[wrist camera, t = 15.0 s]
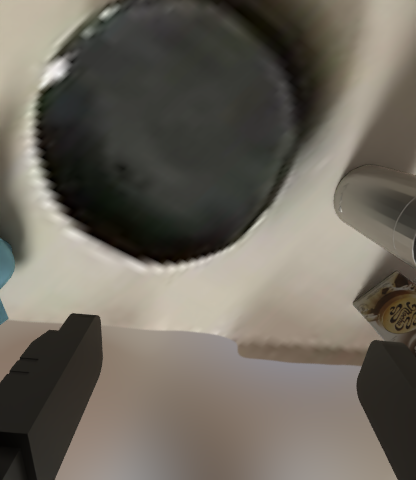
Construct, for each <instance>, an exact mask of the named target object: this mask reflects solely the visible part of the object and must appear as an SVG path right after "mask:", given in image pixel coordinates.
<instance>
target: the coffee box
mask: <svg viewBox="0 0 416 480" xmlns="http://www.w3.org/2000/svg"><path fill="white" fill-rule="evenodd" d="M353 306H354V307H355V308H356V309H357V310H358V311H359V312H360V313H361V315H362V316H363V317H364V318H365V319H366V320H367V321H368V323H369V324H370V325H371V326H372V327H373V328H374V329H375V331H376V332H377V333H378V334H379V335H380V336H381V337H382V339H383V340H384V341H391V342H401V343H404V344H405V345H406V346H407V347H408V348H409V349H410V351H411V352H412V353H413V354H414V356H415V357H416V285H415V284H414V283H412V282H411V281H410V280H408V279H407V278H405V277H404V276H403V275H402V274H400V273H399V272H398V271H396V272H394V273H393V274H392V275H390V276H389V277H388V278H386V279H385V280H384V281H382V282H381V283H380V284H378V285H377V286H376V287H374V288H373V289H372V290H370V291H369V292H367V293H366V294H365V295H363V296H362V297H361V298H359V299H358V300H357V301H355V302H354V303H353Z"/></svg>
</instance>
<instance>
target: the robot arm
mask: <svg viewBox="0 0 416 480" xmlns="http://www.w3.org/2000/svg"><path fill="white" fill-rule="evenodd" d="M334 208H335V211H336V213H337V215H338V217H339V218H340V219H341V220H342V221H343V222H344V223H346V224H347V225H349V226H351V227H352V228H354V229H355V230H356V231H358V232H359V233H361V234H363V235H364V236H366V237H367V238H369V239H370V240H372V241H373V242H375V243H376V244H378V245H379V246H381V247H382V248H384V249H385V250H387V251H389V252H390V253H392V254H393V255H395V256H396V257H398V258H399V259H401V260H402V261H404V262H405V263H407V264H409V265H410V266H412V267H413V268H415V269H416V175H413V174H409V173H405V172H401V171H397V170H393V169H389V168H385V167H381V166H377V165H365V166H361V167H358V168H356V169H354V170H353V171H351V172H350V173H348V174H347V175H346V176H345V177H344V178H343V179H342V181H341V182H340V183H339V185H338V187H337V189H336V192H335V196H334ZM102 360H103V353H102V336H101V320H100V317H99V316H98V315H86V314H75V313H72V314H71V315H70V316H69V317H68V318H67V320H66V321H65V322H64V324H63V325H62V327H61V328H60V330H59V331H56V330H49V331H47V332H46V333H44V334H43V335H41V336H40V337H39V338H37V339H36V340H34V341H33V342H32V343H31V344H30V345H29V347H28V348H27V349H26V350H25V352H24V353H23V354H22V356H21V357H20V360H19V361H17V362H16V363H15V365H14V366H13V367H12V368H11V370H10V373H9V374H7V375H6V376H5V377H4V379H3V380H2V381H1V382H0V480H55V477H56V475H57V473H58V470H59V468H60V466H61V464H62V461H63V459H64V456H65V454H66V452H67V450H68V447H69V445H70V443H71V440H72V438H73V436H74V434H75V431H76V429H77V426H78V424H79V422H80V420H81V417H82V415H83V413H84V410H85V408H86V406H87V404H88V401H89V399H90V396H91V394H92V392H93V390H94V387H95V385H96V383H97V380H98V378H99V375H100V372H101V367H102ZM357 394H358V398H359V401H360V403H361V405H362V407H363V409H364V411H365V413H366V415H367V417H368V419H369V422H370V423H371V426H372V428H373V430H374V432H375V434H376V436H377V438H378V440H379V442H380V444H381V446H382V448H383V450H384V452H385V454H386V456H387V458H388V461H389V463H390V464H391V466H392V469H393V471H394V473H395V475H396V477H397V479H398V480H416V357H415V356H414V354H413V353H412V352H411V351H410V349H409V348H408V347H407V346H406V345H405V344H404V343H401V342H391V341H379V340H374V341H373V342H371V344H370V346H369V348H368V351H367V354H366V357H365V359H364V362H363V365H362V367H361V370H360V373H359V375H358V378H357Z"/></svg>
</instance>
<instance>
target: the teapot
mask: <svg viewBox="0 0 416 480" xmlns="http://www.w3.org/2000/svg"><path fill="white" fill-rule="evenodd" d="M14 268H15V260H14V256H13V254H12V247H11V246H10V244H9V243H8V242H6V241H4V240H2V239H1V238H0V289H1V288H2V287H3V286H4V285H5V284H6V282H7V281H8V280H9V279H10V278H11V276H12V274H13V272H14ZM7 319H8V316H7V314H6V311H5V309H4V307H3V304H2V302H1V299H0V325H1V324H2V323H3V322H5V321H6V320H7Z"/></svg>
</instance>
